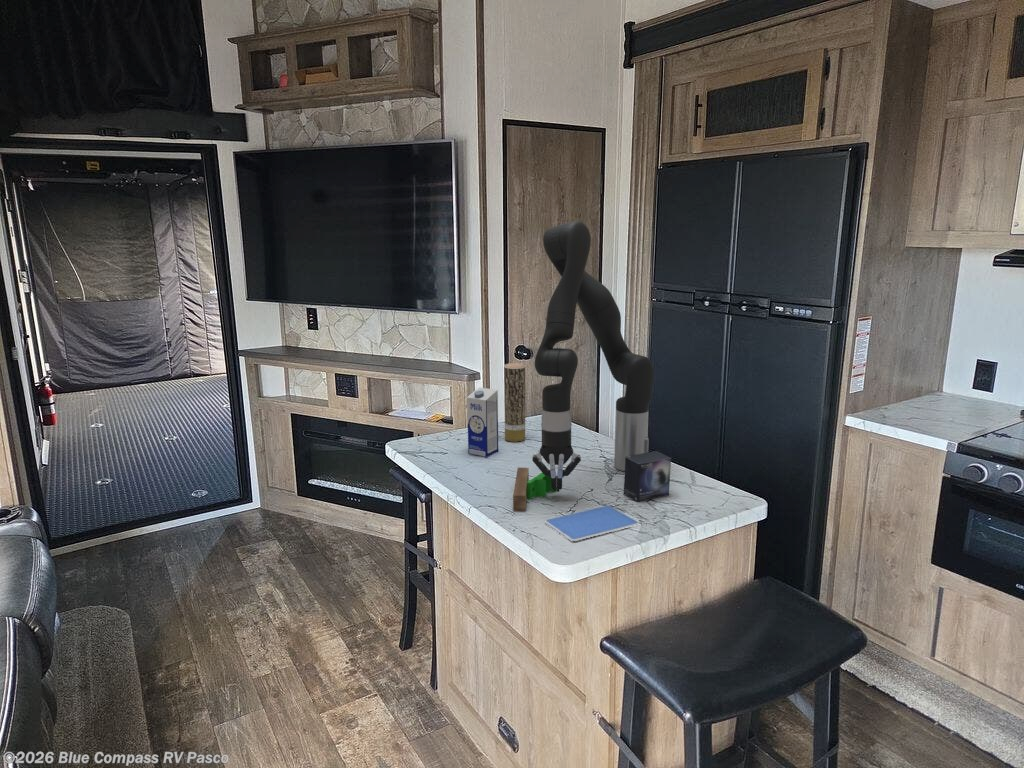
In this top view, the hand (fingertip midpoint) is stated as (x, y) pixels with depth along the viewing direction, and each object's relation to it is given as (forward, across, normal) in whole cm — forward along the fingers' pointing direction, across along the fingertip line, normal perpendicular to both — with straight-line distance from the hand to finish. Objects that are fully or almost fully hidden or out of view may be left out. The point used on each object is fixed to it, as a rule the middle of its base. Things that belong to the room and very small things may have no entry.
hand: (556, 490), depth 175 cm
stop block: (+2, +9, 0) cm, 9 cm away
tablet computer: (+2, -8, +16) cm, 19 cm away
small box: (+2, -23, -2) cm, 24 cm away
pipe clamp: (+2, +4, -2) cm, 5 cm away
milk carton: (+2, +22, -34) cm, 41 cm away
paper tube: (+2, +13, -48) cm, 50 cm away
